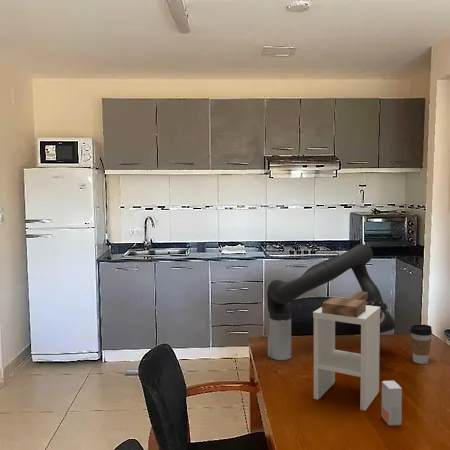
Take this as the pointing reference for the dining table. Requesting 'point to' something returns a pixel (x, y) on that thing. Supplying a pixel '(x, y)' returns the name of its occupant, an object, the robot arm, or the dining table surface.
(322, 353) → the shelf stand
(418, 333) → the coffee cup
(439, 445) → the dining table surface
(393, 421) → the skincare box
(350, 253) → the robot arm
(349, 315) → the walnut mallet
